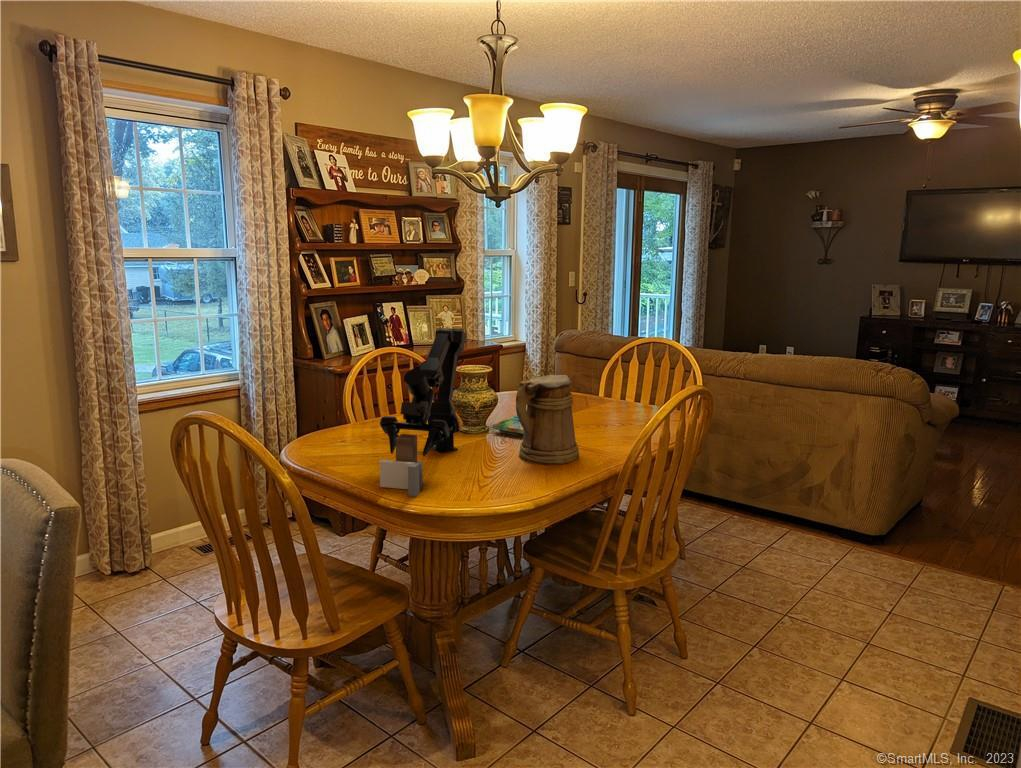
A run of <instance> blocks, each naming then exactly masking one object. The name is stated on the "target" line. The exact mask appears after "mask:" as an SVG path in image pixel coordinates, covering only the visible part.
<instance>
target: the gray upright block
mask: <svg viewBox="0 0 1021 768" xmlns="http://www.w3.org/2000/svg"><path fill="white" fill-rule="evenodd" d="M420 491H421V490H420V484H419V464H418V463H411V464H410V465H409V466H408V489H407V497H412V498H413V497H414V498H416V497H417V496H419V494H420V493H421V492H420Z"/></svg>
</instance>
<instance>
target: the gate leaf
mask: <svg viewBox="0 0 1021 768" xmlns="http://www.w3.org/2000/svg"><path fill="white" fill-rule="evenodd" d="M411 463H418V464H419V484H420V491H423V485H424V483H423V462H422V461H417V462H403V461H396V460H391V459H380V461H379V487H380V488H387V489H388V488H389V489H390V488H391V489H400V490H408V466H409V465H410V464H411Z"/></svg>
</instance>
